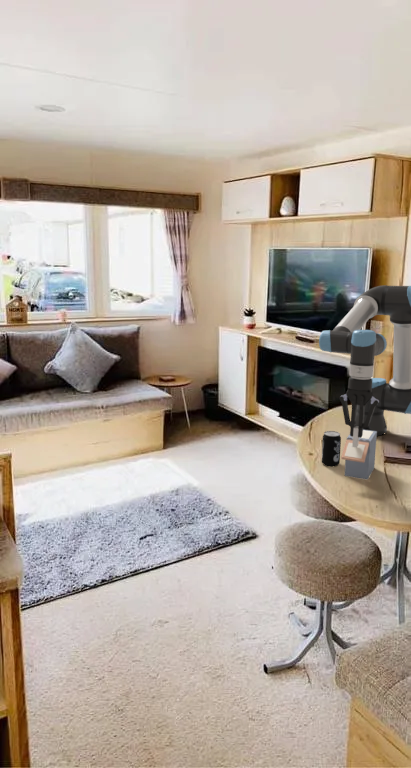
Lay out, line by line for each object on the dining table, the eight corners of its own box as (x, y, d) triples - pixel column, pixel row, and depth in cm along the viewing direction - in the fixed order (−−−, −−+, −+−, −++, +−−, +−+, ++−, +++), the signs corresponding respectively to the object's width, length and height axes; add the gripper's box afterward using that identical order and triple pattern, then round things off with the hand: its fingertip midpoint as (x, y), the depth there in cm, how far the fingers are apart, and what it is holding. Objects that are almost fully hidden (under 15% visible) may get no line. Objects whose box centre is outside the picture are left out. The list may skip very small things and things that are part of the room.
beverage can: (329, 468, 203) (330, 437, 200) (317, 462, 209) (319, 432, 206) (343, 465, 206) (345, 434, 203) (331, 459, 212) (333, 429, 209)
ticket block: (352, 464, 207) (354, 428, 203) (374, 467, 203) (376, 431, 200) (344, 475, 196) (346, 437, 193) (367, 479, 193) (370, 441, 190)
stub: (346, 441, 193) (346, 439, 192) (369, 444, 189) (369, 442, 189) (341, 459, 188) (341, 456, 187) (364, 462, 184) (364, 460, 184)
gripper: (338, 377, 183) (333, 446, 187) (379, 381, 177) (373, 452, 181) (343, 373, 189) (338, 440, 194) (383, 377, 183) (377, 446, 188)
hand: (355, 446), depth 188 cm, fingers closed
